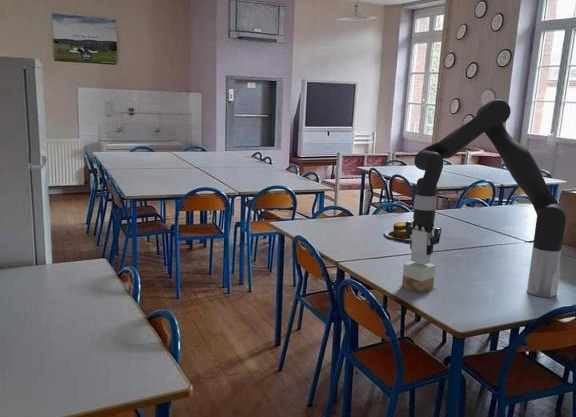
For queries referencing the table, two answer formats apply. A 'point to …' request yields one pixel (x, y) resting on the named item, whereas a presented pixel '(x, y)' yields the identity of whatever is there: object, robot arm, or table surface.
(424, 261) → the skincare box
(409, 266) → the upper block
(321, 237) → the table surface
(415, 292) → the mat
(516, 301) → the table surface
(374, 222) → the table surface
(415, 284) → the lower block
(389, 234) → the food on plate
